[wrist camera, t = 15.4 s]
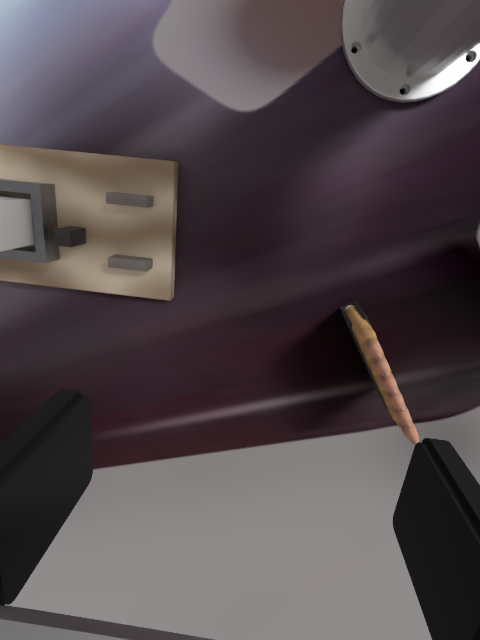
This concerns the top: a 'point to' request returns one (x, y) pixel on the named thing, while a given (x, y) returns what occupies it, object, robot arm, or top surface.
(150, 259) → the board
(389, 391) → the ammunition clip
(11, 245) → the plug
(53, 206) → the frame
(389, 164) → the top surface
